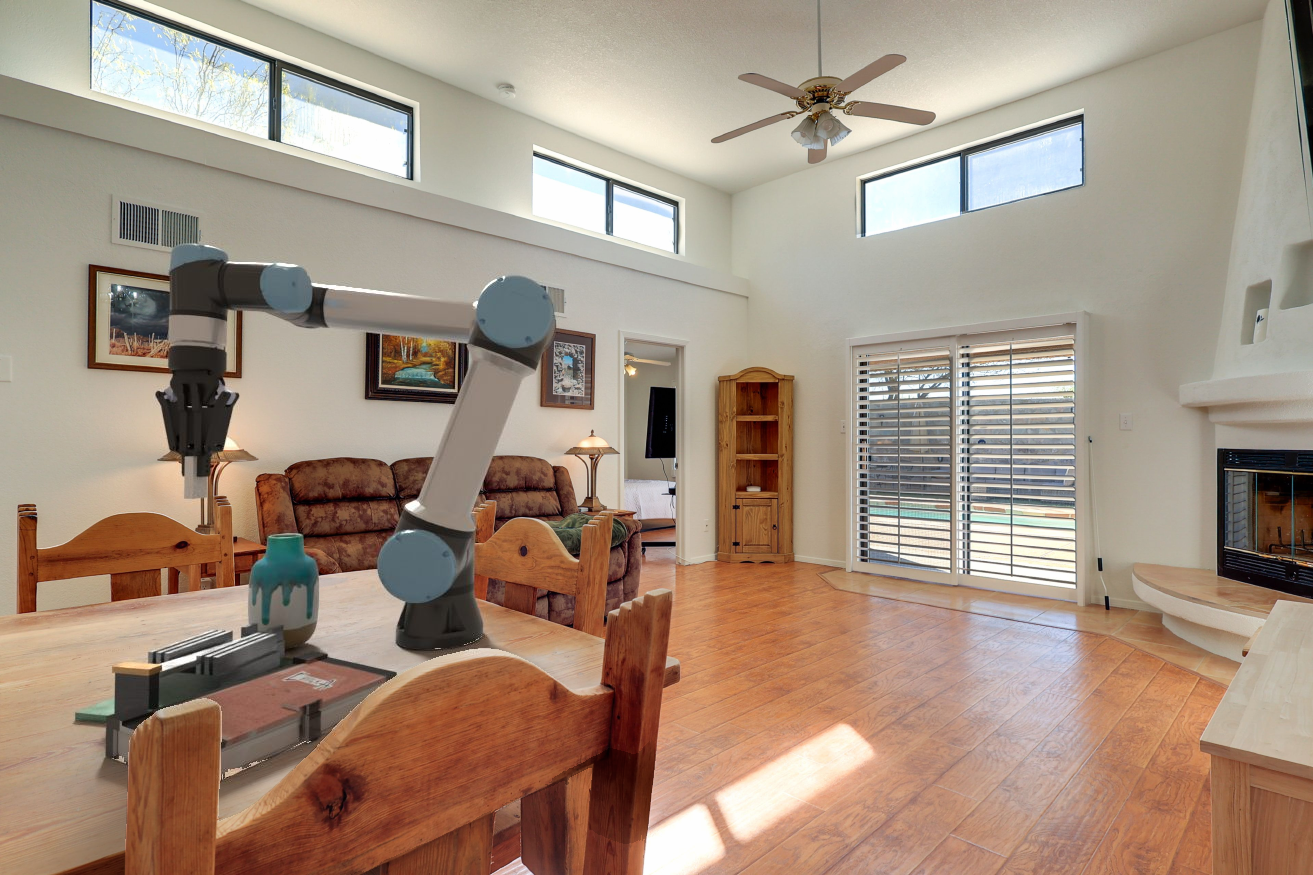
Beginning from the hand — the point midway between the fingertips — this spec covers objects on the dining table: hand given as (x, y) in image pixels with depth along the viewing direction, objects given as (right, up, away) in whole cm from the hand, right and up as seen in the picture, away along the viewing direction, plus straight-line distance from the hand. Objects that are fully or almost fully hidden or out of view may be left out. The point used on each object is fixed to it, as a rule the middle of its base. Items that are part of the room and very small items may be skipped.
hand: (195, 497), depth 104 cm
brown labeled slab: (+23, -27, -21) cm, 41 cm away
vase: (+8, -27, +10) cm, 30 cm away
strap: (+8, -22, -9) cm, 25 cm away
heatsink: (+8, -26, -9) cm, 29 cm away
